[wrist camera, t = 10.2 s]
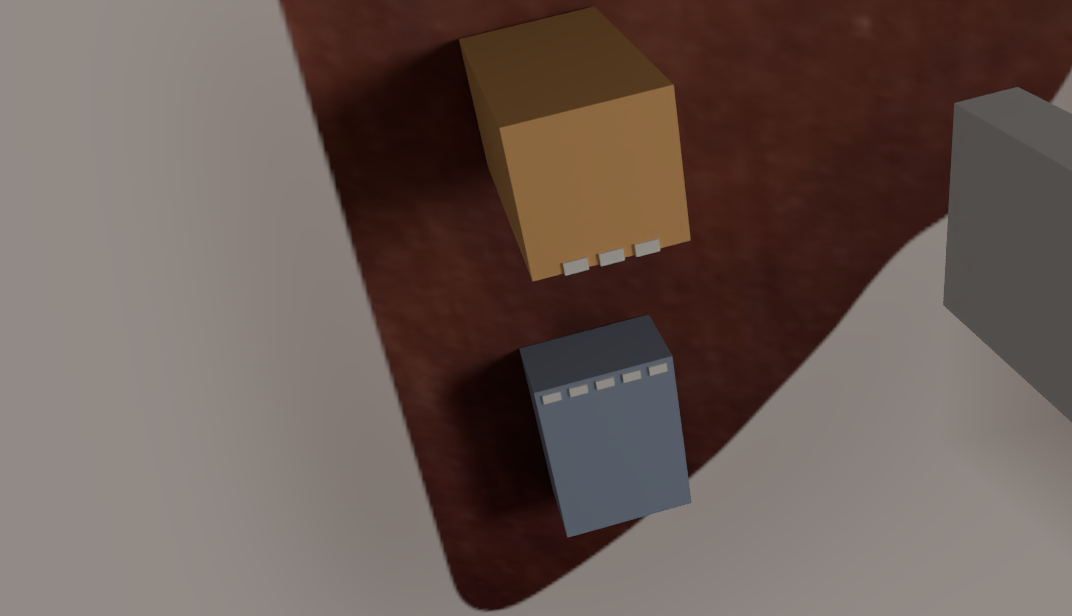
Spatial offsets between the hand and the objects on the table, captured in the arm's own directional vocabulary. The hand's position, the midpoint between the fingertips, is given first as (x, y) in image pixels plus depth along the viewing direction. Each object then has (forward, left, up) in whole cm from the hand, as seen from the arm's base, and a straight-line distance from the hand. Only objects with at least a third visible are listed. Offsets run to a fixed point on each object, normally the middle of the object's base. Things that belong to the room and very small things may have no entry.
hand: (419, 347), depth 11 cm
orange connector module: (+1, +11, -32) cm, 33 cm away
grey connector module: (+14, +24, -32) cm, 42 cm away
